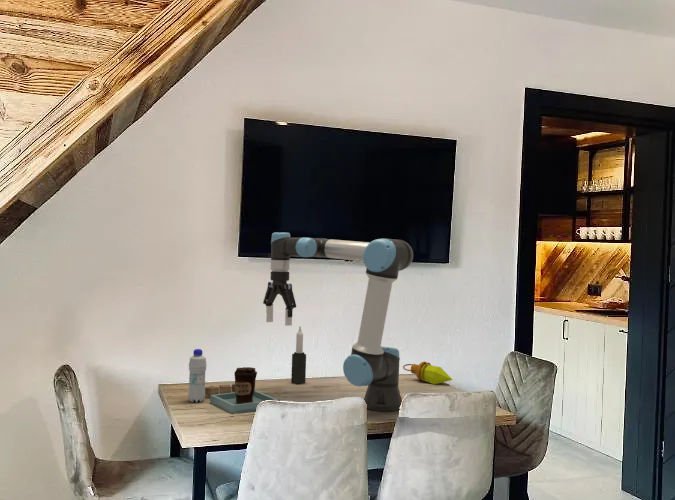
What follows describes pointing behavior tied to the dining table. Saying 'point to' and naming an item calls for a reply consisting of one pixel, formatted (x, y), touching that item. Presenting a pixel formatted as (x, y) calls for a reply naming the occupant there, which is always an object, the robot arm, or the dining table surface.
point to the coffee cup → (245, 384)
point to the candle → (298, 361)
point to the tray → (230, 405)
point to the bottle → (197, 376)
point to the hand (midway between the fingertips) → (278, 323)
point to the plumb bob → (429, 373)
